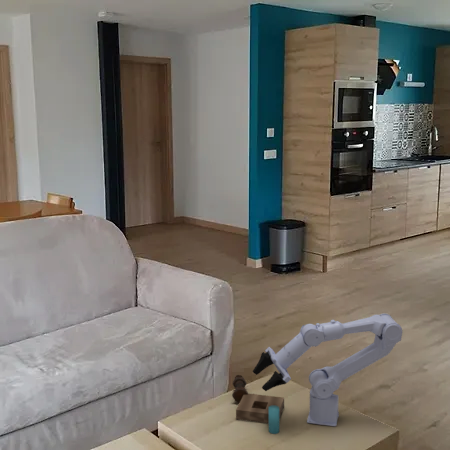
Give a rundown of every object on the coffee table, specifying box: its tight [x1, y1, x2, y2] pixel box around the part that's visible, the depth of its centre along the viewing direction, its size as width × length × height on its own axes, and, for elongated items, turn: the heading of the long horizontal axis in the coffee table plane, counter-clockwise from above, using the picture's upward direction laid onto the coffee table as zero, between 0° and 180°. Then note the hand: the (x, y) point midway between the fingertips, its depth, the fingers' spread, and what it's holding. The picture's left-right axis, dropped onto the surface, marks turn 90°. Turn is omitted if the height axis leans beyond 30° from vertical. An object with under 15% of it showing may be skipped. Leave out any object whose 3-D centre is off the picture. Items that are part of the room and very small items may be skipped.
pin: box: [268, 405, 280, 435], centre depth 189 cm, size 3×3×8 cm
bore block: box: [235, 393, 285, 425], centre depth 200 cm, size 14×12×4 cm
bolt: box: [231, 374, 249, 404], centre depth 214 cm, size 6×5×15 cm
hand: (259, 381), depth 192 cm, fingers open, 7 cm apart
